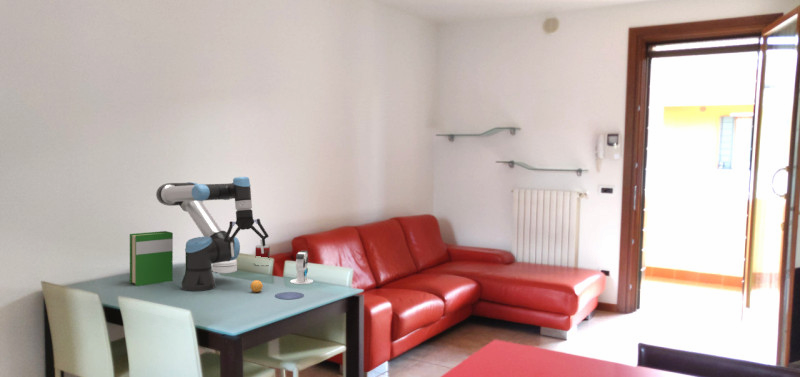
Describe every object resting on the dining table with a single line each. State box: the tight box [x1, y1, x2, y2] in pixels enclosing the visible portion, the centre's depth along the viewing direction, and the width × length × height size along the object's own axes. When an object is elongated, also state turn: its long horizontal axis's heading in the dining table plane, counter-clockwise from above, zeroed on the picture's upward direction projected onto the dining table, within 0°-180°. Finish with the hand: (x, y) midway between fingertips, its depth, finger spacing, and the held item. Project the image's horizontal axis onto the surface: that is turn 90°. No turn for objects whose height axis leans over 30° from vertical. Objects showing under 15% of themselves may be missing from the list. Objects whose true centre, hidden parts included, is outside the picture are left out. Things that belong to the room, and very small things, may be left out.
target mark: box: [274, 291, 305, 300], centre depth 262 cm, size 13×13×1 cm
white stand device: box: [289, 250, 314, 285], centre depth 291 cm, size 12×11×15 cm
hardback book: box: [129, 230, 174, 287], centre depth 281 cm, size 18×7×24 cm, turn 137°
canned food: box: [255, 244, 271, 258], centre depth 331 cm, size 8×8×11 cm
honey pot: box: [212, 258, 238, 274], centre depth 313 cm, size 13×13×18 cm
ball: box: [250, 279, 264, 293], centre depth 267 cm, size 6×6×6 cm
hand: (247, 255), depth 271 cm, fingers open, 13 cm apart
